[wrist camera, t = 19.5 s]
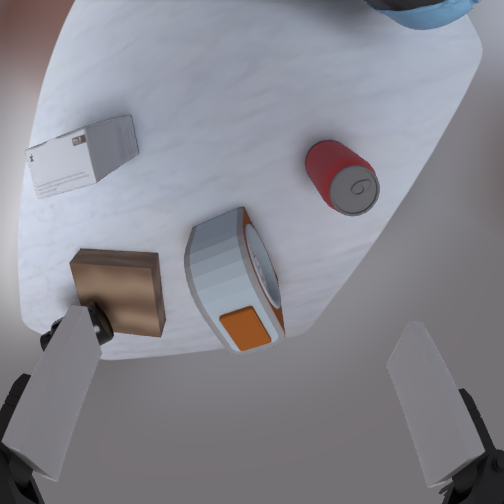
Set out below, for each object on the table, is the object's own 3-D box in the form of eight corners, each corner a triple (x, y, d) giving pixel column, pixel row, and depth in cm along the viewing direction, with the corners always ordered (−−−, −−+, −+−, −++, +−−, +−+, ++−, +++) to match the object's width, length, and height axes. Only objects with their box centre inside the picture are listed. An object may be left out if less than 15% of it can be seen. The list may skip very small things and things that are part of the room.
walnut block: (82, 247, 47) (69, 262, 43) (158, 251, 48) (150, 268, 44) (97, 311, 54) (88, 328, 50) (166, 318, 55) (160, 337, 51)
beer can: (358, 169, 41) (393, 200, 31) (320, 193, 43) (343, 231, 33) (335, 130, 39) (367, 148, 28) (295, 155, 40) (312, 182, 30)
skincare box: (91, 165, 40) (35, 204, 27) (82, 126, 37) (20, 151, 24) (142, 152, 40) (97, 187, 27) (134, 111, 37) (81, 127, 24)
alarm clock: (282, 284, 51) (292, 345, 39) (234, 300, 52) (232, 363, 41) (245, 205, 44) (244, 254, 32) (192, 227, 45) (174, 281, 34)
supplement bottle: (99, 326, 40) (39, 358, 37) (119, 344, 45) (63, 374, 42) (89, 291, 44) (33, 323, 41) (108, 312, 49) (55, 341, 46)
